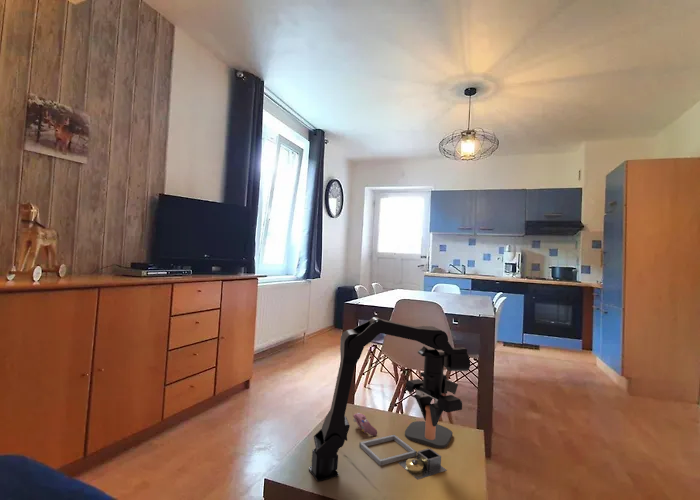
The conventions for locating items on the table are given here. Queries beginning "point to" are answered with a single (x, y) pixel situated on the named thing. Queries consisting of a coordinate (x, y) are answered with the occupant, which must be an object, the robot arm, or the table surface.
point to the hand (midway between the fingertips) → (430, 423)
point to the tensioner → (423, 464)
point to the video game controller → (364, 424)
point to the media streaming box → (418, 435)
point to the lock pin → (429, 425)
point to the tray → (384, 461)
